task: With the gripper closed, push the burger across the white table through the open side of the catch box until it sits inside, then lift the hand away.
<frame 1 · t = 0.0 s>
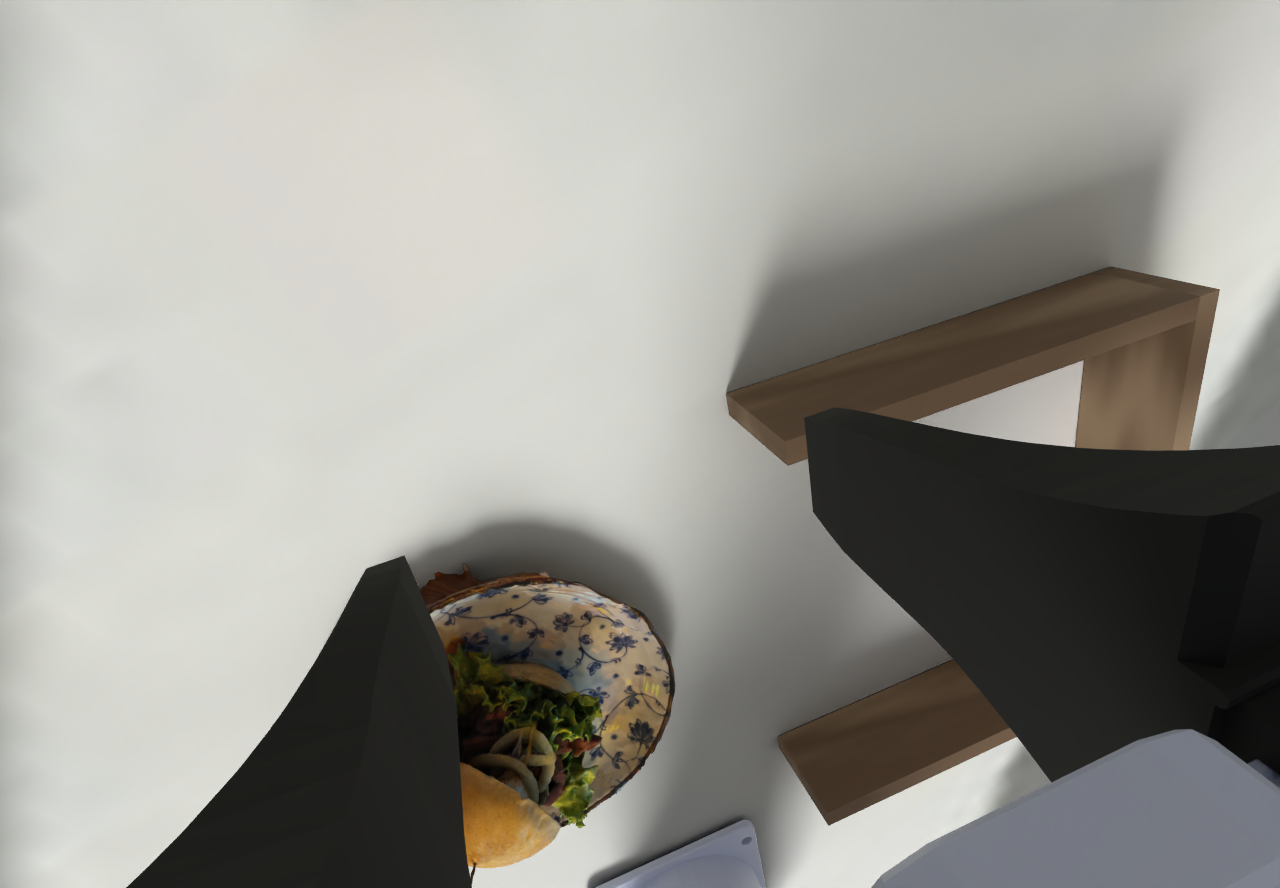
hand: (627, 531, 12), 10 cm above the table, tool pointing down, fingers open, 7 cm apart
burger: (505, 686, 26), on the table
catch box: (922, 532, 29), on the table
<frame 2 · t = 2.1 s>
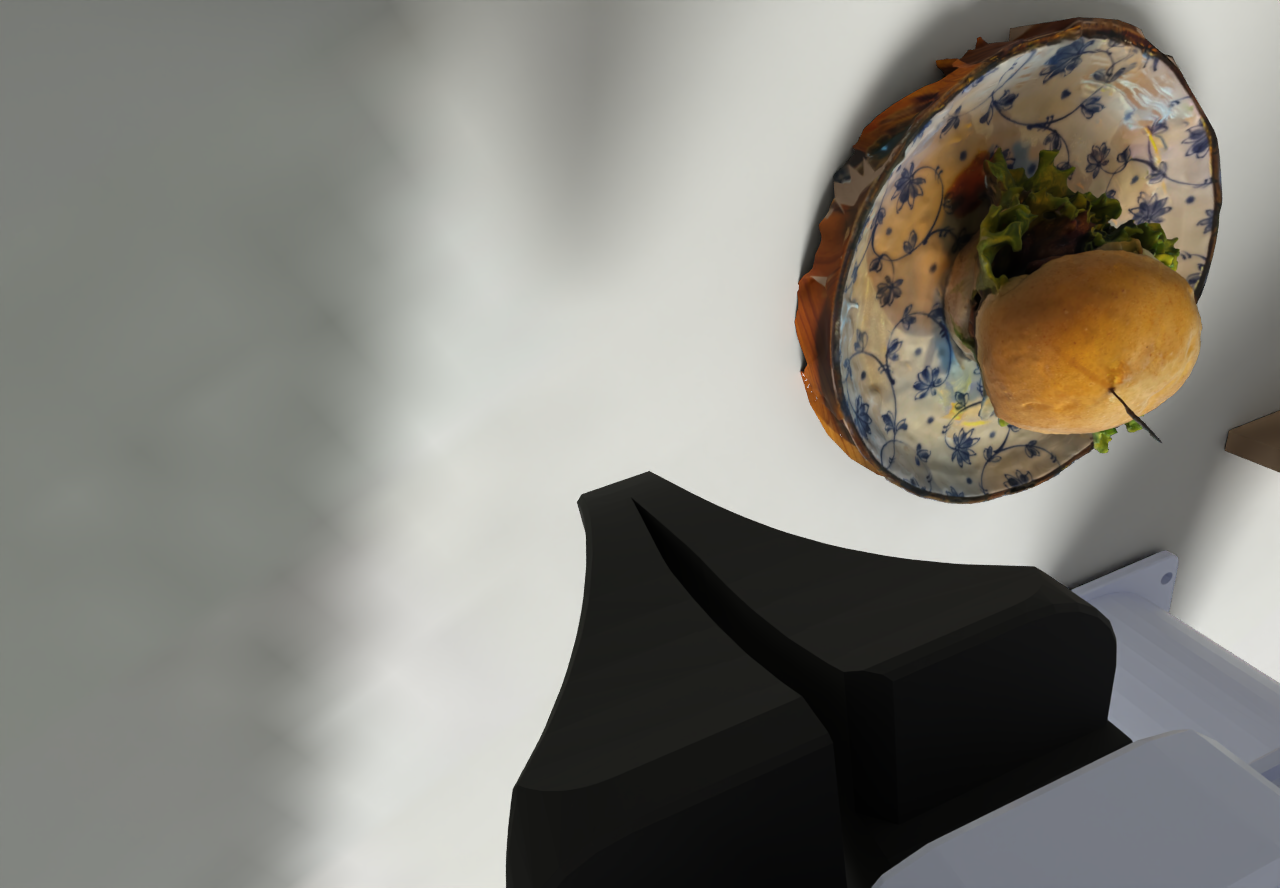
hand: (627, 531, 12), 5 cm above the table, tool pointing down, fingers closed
burger: (979, 279, 20), on the table
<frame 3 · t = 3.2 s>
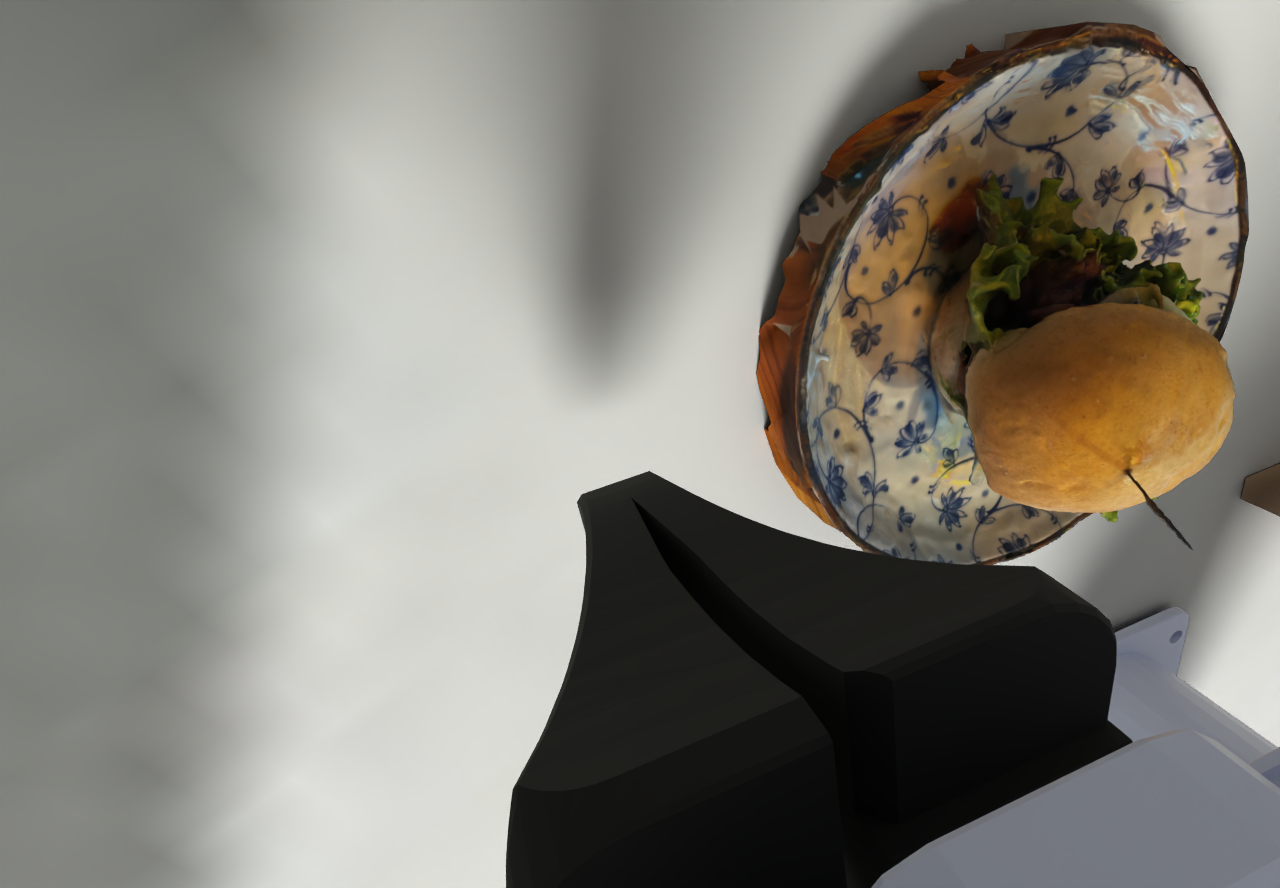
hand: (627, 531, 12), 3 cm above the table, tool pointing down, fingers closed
burger: (971, 320, 17), on the table
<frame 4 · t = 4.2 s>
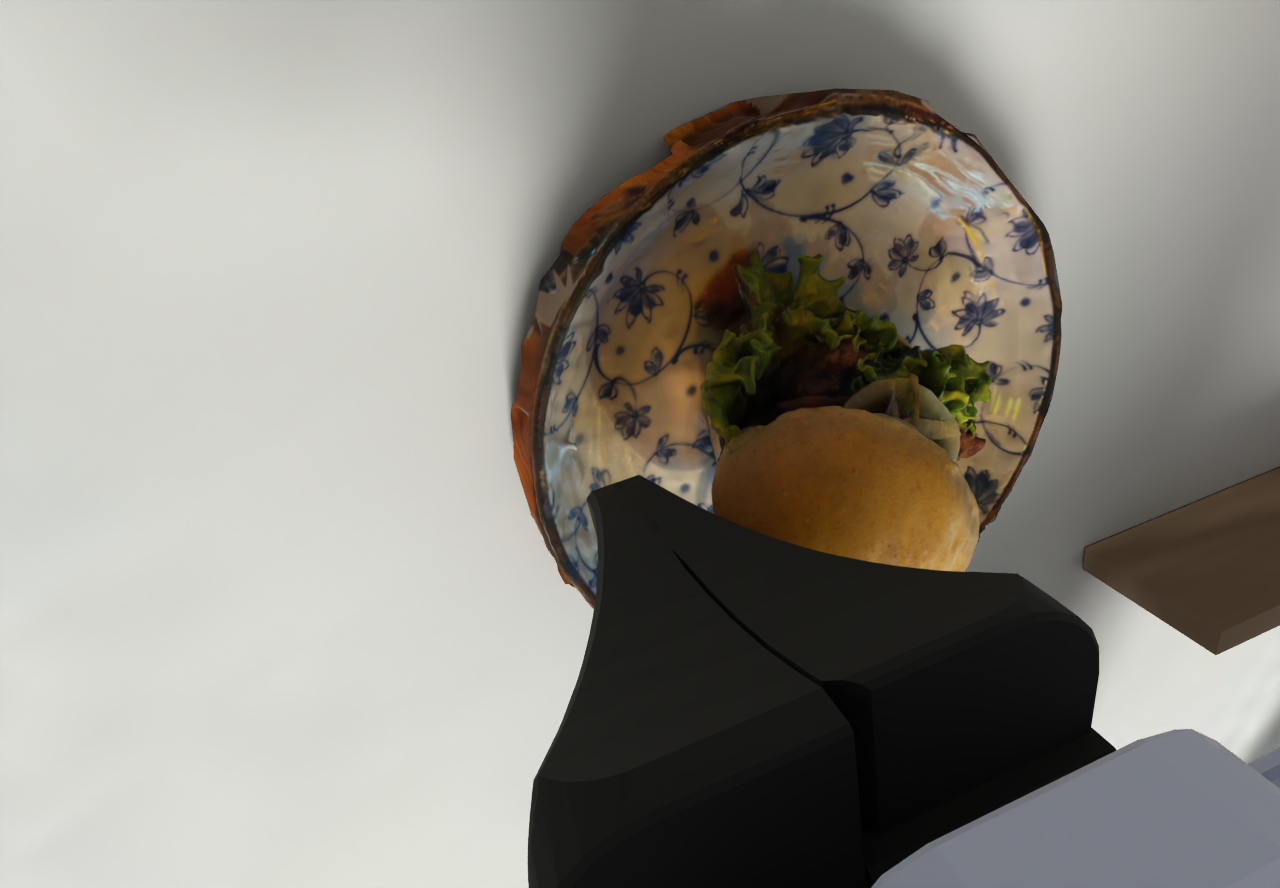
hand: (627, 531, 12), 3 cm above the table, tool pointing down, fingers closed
burger: (774, 392, 16), on the table, touching gripper
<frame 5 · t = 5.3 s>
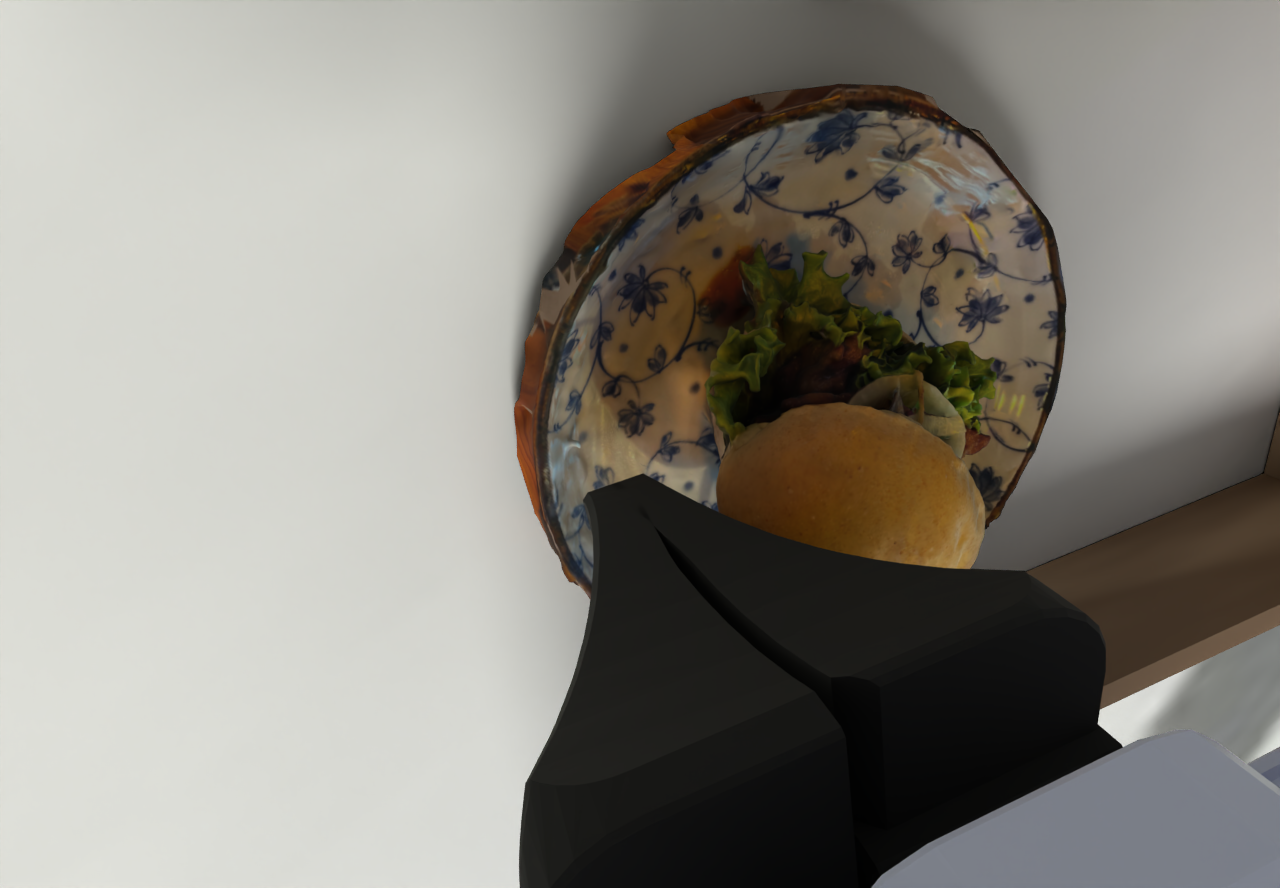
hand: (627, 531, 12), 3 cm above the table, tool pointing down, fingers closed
burger: (777, 390, 16), on the table, touching gripper
catch box: (1100, 291, 17), on the table
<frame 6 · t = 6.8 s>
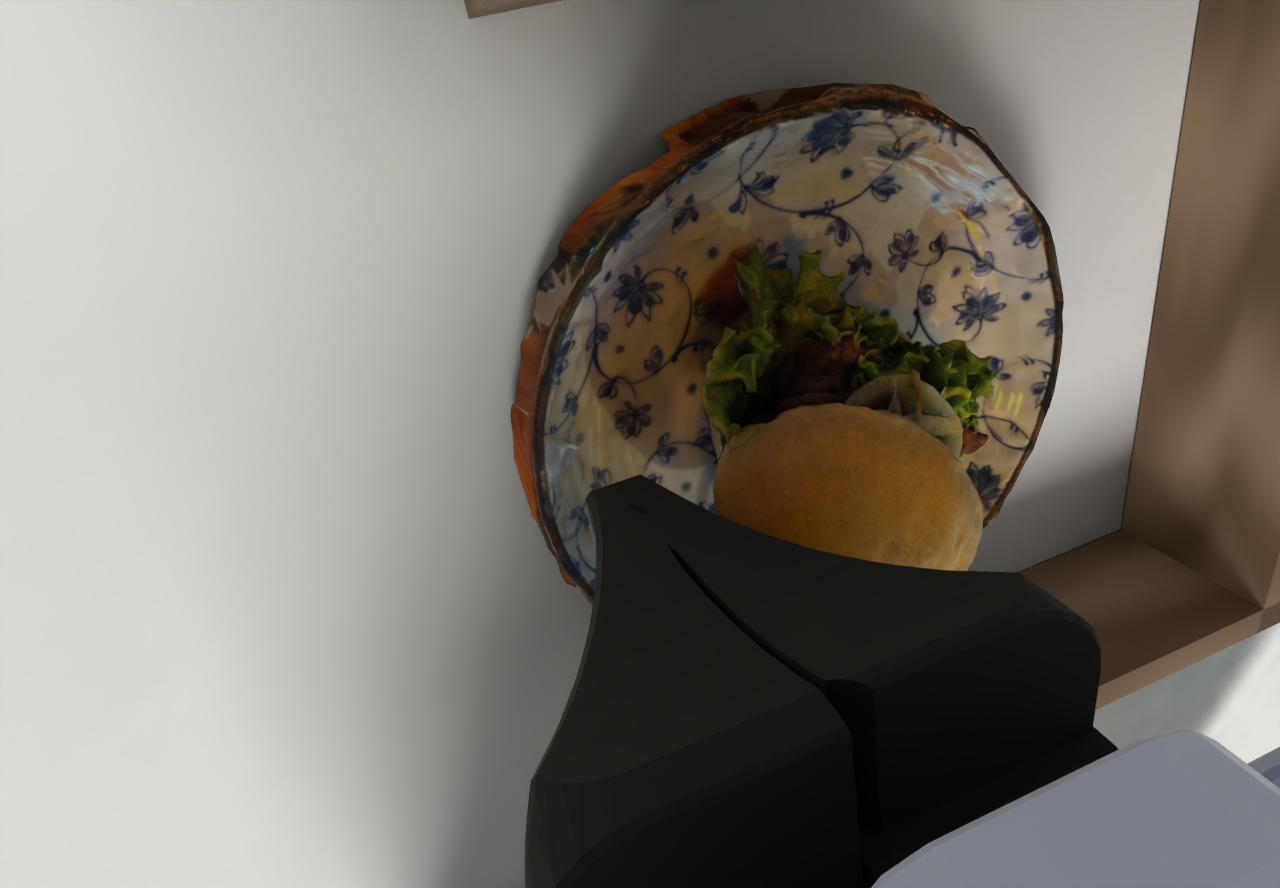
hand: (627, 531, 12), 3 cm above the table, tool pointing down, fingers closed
burger: (775, 389, 16), on the table, touching gripper
catch box: (899, 355, 16), on the table
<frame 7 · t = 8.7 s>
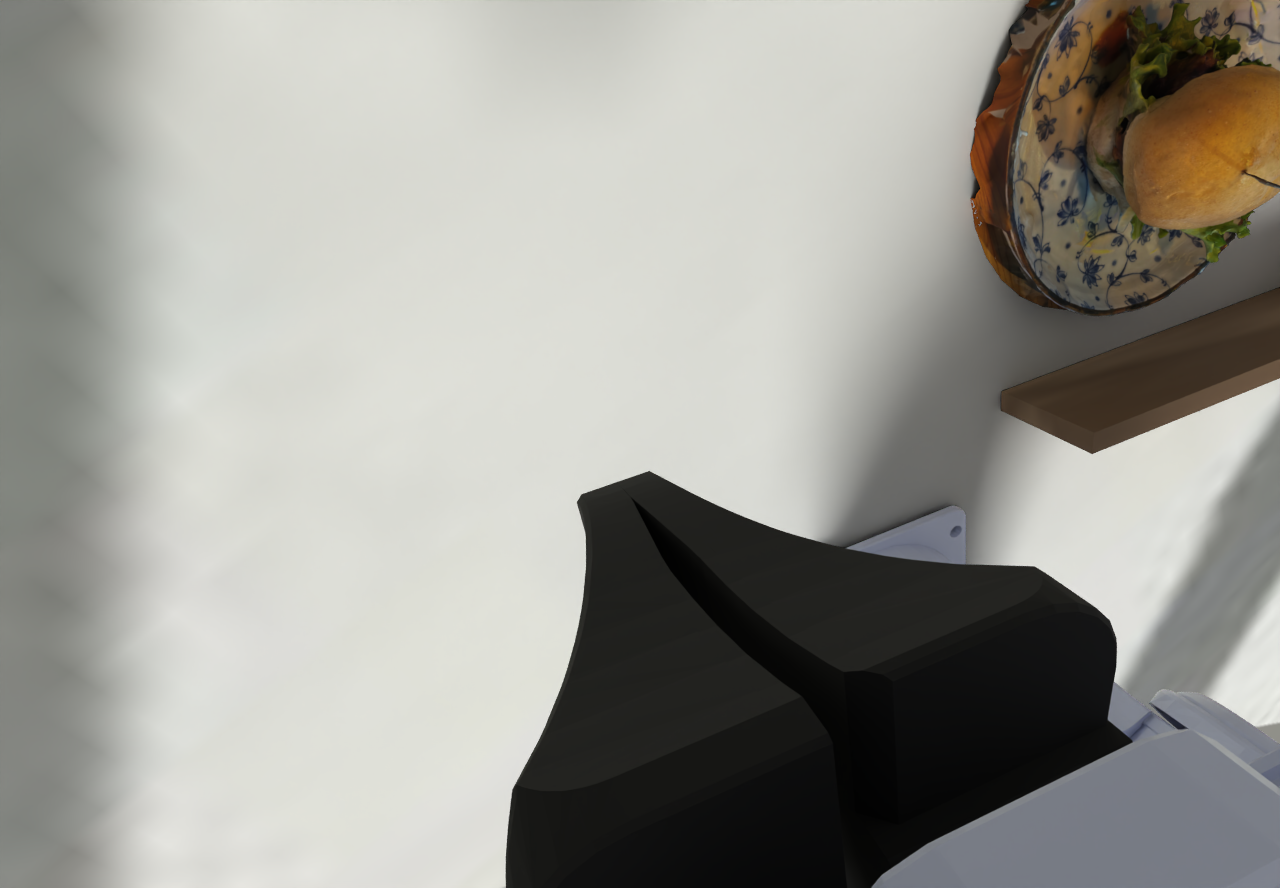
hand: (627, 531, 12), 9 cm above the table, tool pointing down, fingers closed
burger: (1107, 129, 24), on the table
catch box: (1193, 109, 24), on the table
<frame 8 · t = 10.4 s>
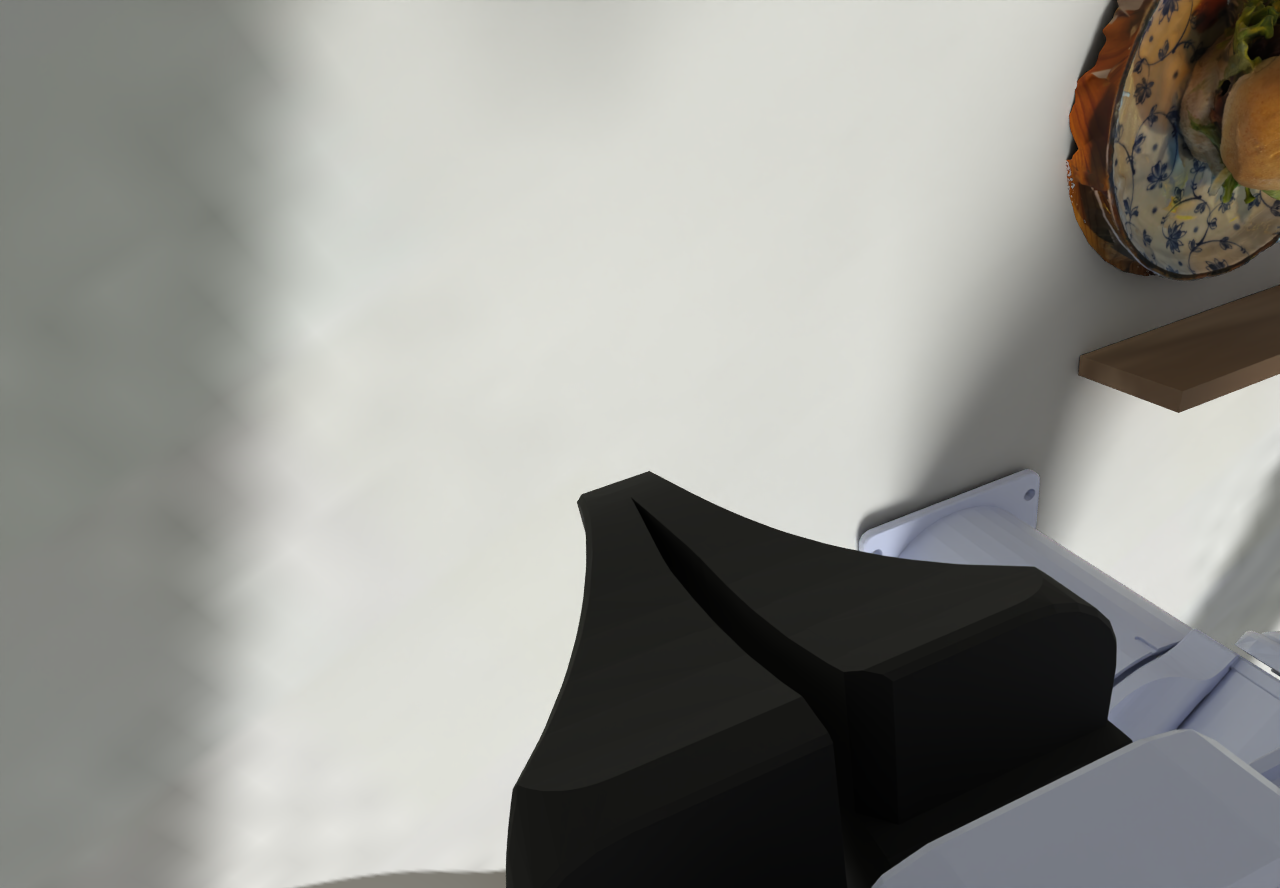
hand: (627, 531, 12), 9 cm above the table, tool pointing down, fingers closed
burger: (1195, 97, 25), on the table
catch box: (1278, 79, 25), on the table
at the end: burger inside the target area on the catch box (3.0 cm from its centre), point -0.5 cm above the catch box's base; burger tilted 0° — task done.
